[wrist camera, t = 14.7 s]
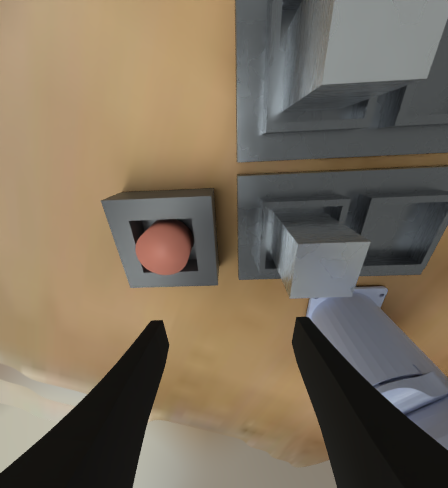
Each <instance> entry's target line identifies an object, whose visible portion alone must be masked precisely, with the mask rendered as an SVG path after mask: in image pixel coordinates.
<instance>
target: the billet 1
mask: <svg viewBox="0 0 448 488" xmlns="http://www.w3.org/2000/svg"><path fill="white" fill-rule="evenodd" d="M447 19H448V0H302V2H301V4H300V6H299V8H298V10H297V12H296V14H295V16H294V18H293V20H292V22H291V24H290V25H289V27H288V33H287V46H286V59H285V72H284V85H283V98H282V111H281V112H290V111H308V110H326V109H342V108H345V107H347V106H350V105H353V104H356V103H359V102H362V101H365V100H367V99H370V98H373V97H376V96H379V95H382V94H384V93H387V92H390V91H393V90H396V89H399V88H401V87H404V86H407V85H410V84H413V83H416V82H418V81H421V80H424V79H427V77H428V74H429V71H430V68H431V65H432V62H433V60H434V57H435V54H436V51H437V48H438V45H439V42H440V39H441V36H442V33H443V30H444V28H445V25H446V22H447Z"/></svg>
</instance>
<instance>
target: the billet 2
mask: <svg viewBox="0 0 448 488" xmlns="http://www.w3.org/2000/svg"><path fill="white" fill-rule="evenodd" d="M370 243H371V241H369V240H367V239H366V238H364V237H363V236H361V235H360V234H358V233H356V232H355V231H353V230H352V229H350V228H349V227H347V226H346V225H344V224H342V223H341V222H339V221H338V220H336V219H335V218H333V217H331V216H330V215H328V214H327V213H325V212H324V211H322V210H314V211H289V212H274V213H273V226H272V239H271V252H270V253H271V256H272V258H273V260H274V263H275V265H276V267H277V270H278V272H279V275H280V277H281V279H282V282H283V284H284V286H285V289H286V291H287V293H288V296H289V298H326V297H352V295H353V292H354V289H355V286H356V283H357V280H358V277H359V274H360V272H361V269H362V266H363V263H364V260H365V257H366V254H367V251H368V248H369V245H370Z"/></svg>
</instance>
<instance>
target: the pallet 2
mask: <svg viewBox="0 0 448 488" xmlns="http://www.w3.org/2000/svg"><path fill="white" fill-rule="evenodd" d="M314 210H322V211H324V212H325V213H327V214H328V215H330V216H331V217H333V218H335V219H336V220H338V221H339V222H341V223H342V224H344V225H346V226H347V227H349V228H350V229H352V230H353V231H355V232H356V233H358V234H360V235H361V236H363V237H364V238H366V239H367V240H369V241H371V243H370V245H369V248H368V251H367V254H366V257H365V260H364V263H363V266H362V269H361V272H360V274H359V276H385V275H420V274H421V273H422V271H423V269H425V267H426V265H427V263H428V261H429V259H430V257H431V255H432V254H433V252H434V250H435V248H436V246H437V244H438V242H439V240H440V238H441V236H442V235H443V233H444V231H445V229H446V227H447V225H448V165H441V166H419V167H397V168H375V169H353V170H331V171H308V172H286V173H264V174H242V175H237V213H238V277H239V280H249V279H281V277H280V275H279V272H278V270H277V267H276V265H275V263H274V260H273V258H272V256H271V253H270V252H271V239H272V226H273V213H274V212H289V211H314Z"/></svg>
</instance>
